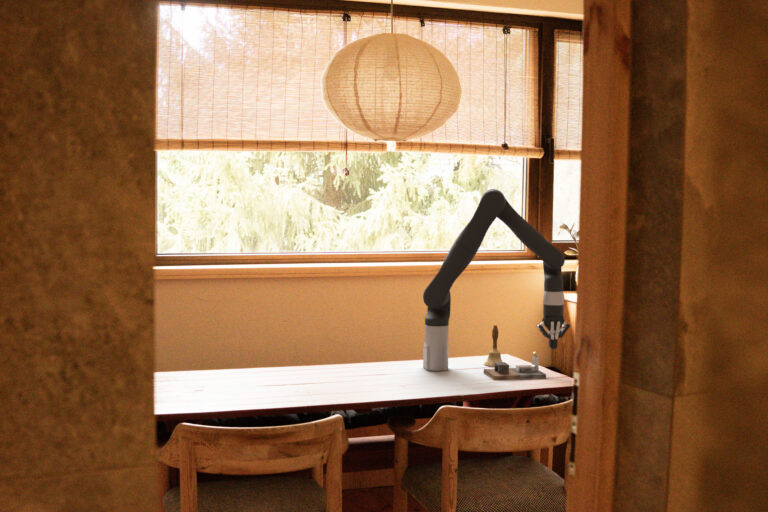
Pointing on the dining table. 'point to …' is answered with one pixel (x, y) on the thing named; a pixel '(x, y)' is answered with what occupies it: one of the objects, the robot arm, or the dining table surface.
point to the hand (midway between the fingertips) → (553, 348)
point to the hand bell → (494, 350)
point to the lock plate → (512, 373)
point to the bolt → (534, 365)
